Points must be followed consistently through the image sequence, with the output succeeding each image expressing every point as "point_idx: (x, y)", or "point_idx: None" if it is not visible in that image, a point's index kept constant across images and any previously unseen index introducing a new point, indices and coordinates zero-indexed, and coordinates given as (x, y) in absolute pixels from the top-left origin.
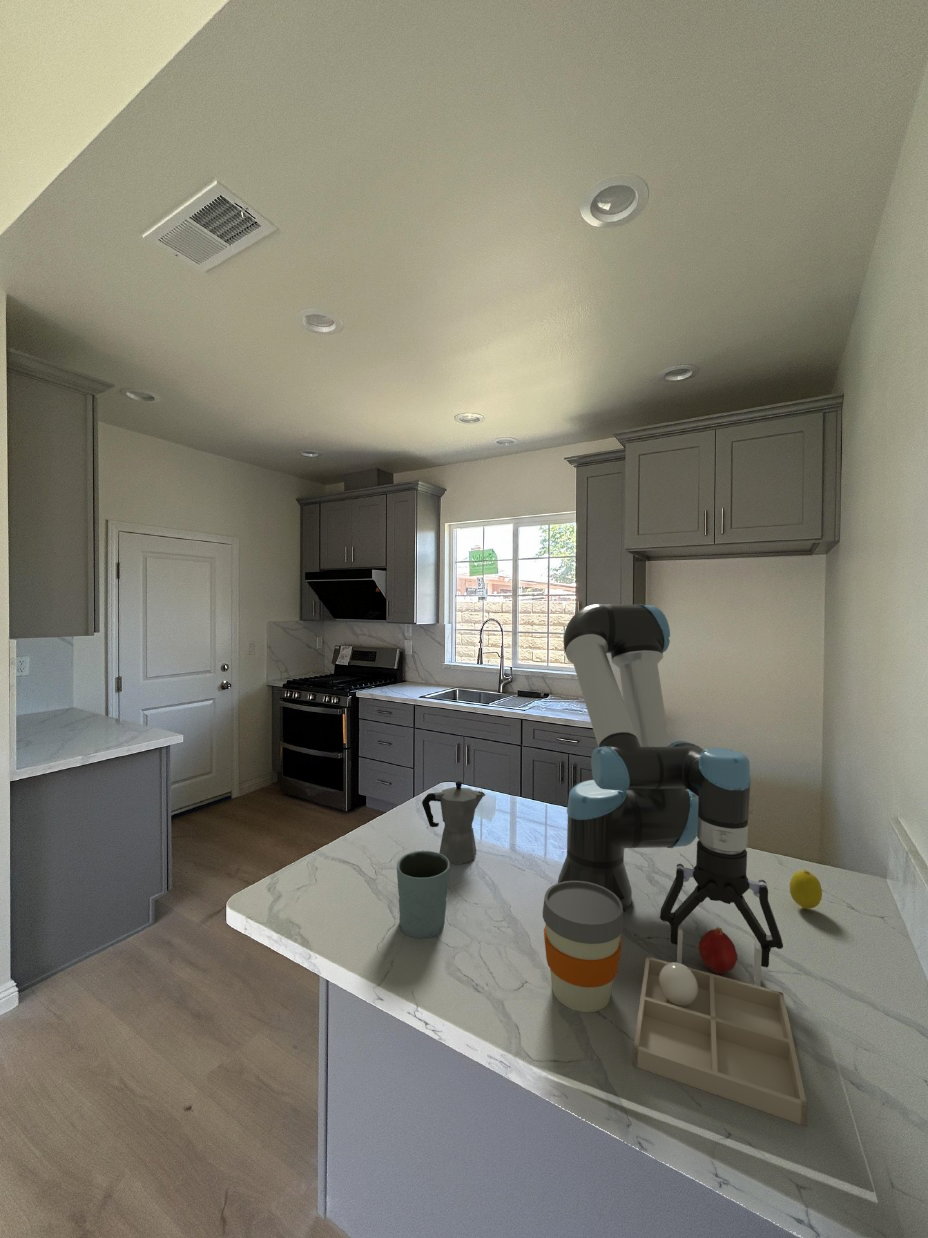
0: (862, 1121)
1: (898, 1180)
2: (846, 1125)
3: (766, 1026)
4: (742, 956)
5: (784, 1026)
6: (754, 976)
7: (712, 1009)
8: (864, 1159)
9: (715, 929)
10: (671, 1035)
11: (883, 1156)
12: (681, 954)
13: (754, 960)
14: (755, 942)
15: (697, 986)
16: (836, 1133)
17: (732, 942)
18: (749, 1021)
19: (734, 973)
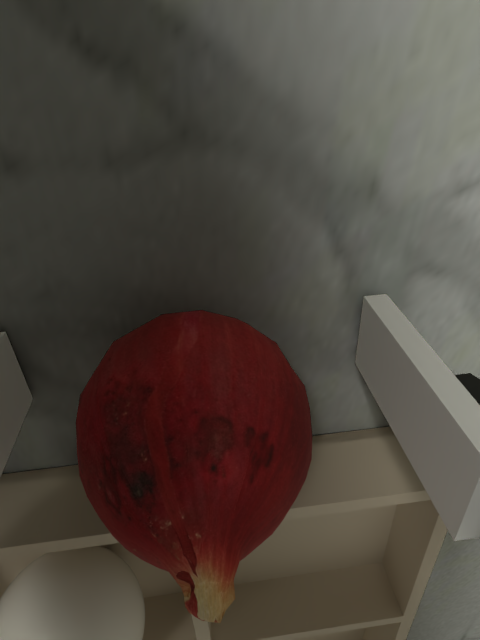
0: (476, 589)
1: (476, 631)
2: (441, 604)
3: (353, 514)
4: (336, 112)
5: (409, 568)
6: (370, 355)
7: (201, 632)
8: (442, 630)
9: (180, 577)
10: None
11: (476, 616)
12: (6, 454)
13: (405, 378)
14: (473, 496)
15: (141, 636)
16: (416, 620)
17: (300, 471)
18: (306, 520)
19: (275, 301)
